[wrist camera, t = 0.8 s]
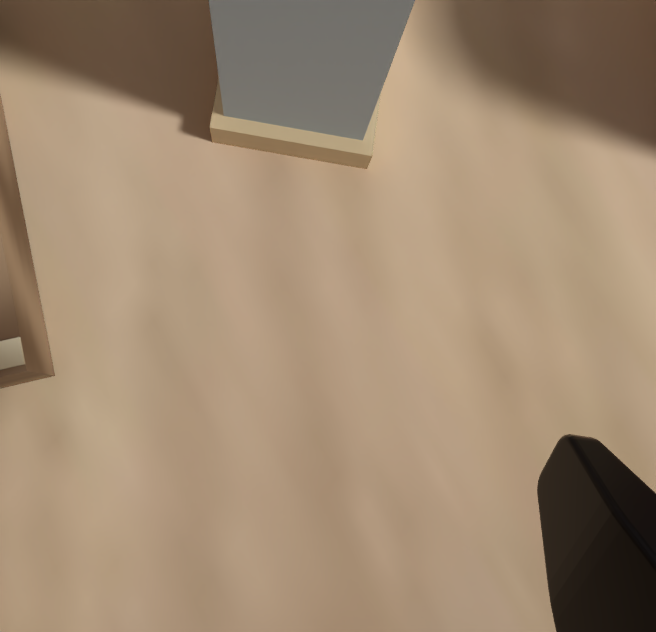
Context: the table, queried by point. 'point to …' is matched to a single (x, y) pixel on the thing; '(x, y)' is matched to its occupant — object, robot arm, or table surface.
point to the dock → (18, 285)
